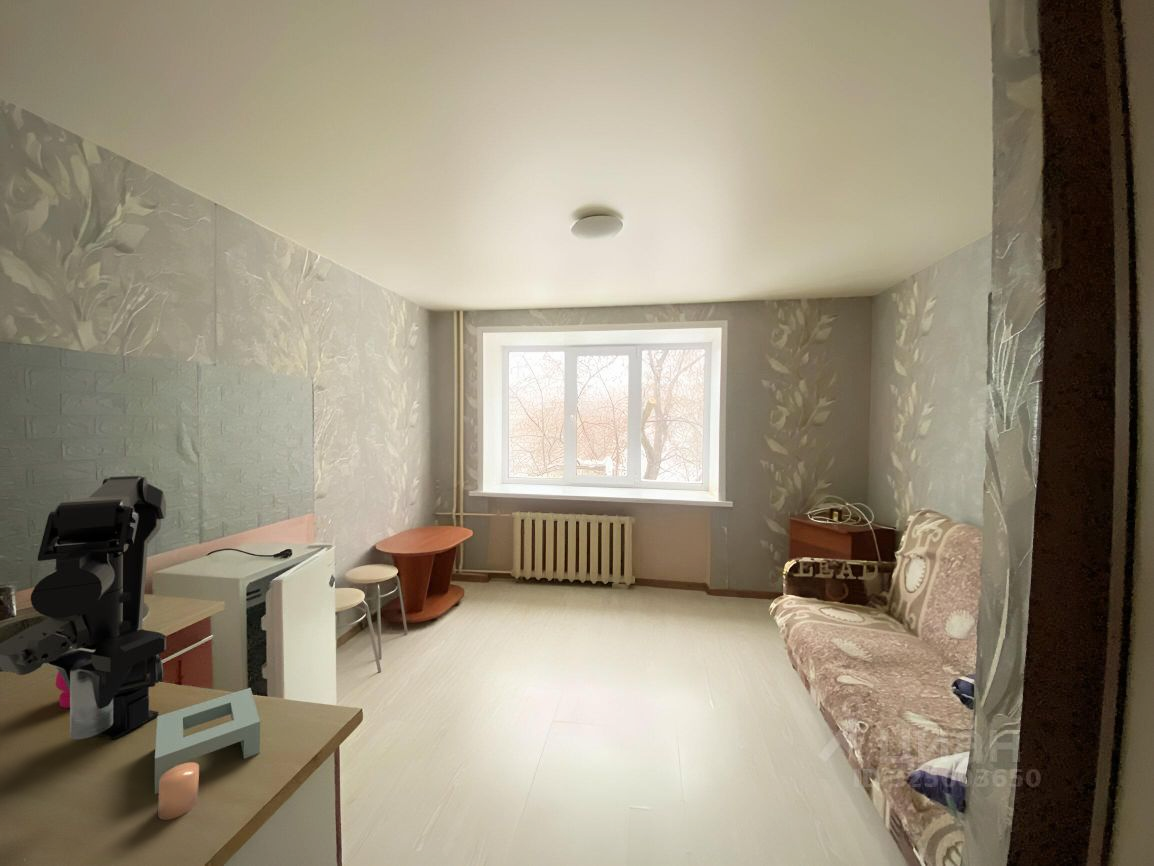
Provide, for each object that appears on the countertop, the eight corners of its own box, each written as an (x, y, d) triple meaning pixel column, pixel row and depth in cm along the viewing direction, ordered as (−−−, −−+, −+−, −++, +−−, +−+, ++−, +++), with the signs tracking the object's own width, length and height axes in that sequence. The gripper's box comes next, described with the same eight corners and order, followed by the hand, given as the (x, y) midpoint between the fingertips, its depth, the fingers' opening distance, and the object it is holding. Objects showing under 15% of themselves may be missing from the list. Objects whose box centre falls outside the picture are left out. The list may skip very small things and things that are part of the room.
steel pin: (62, 736, 59) (62, 669, 59) (100, 717, 63) (100, 655, 63) (83, 741, 58) (83, 674, 58) (120, 722, 62) (120, 658, 62)
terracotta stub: (149, 816, 58) (150, 782, 58) (181, 792, 62) (182, 760, 62) (175, 822, 57) (176, 788, 57) (205, 797, 61) (206, 765, 61)
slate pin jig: (157, 747, 71) (157, 716, 70) (250, 715, 79) (250, 687, 79) (154, 794, 62) (154, 758, 62) (259, 752, 70) (260, 721, 70)
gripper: (-45, 606, 55) (-45, 731, 55) (59, 624, 51) (58, 759, 51) (75, 577, 66) (74, 681, 66) (169, 590, 61) (168, 701, 62)
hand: (92, 704), depth 61 cm, fingers closed on steel pin, 4 cm apart
